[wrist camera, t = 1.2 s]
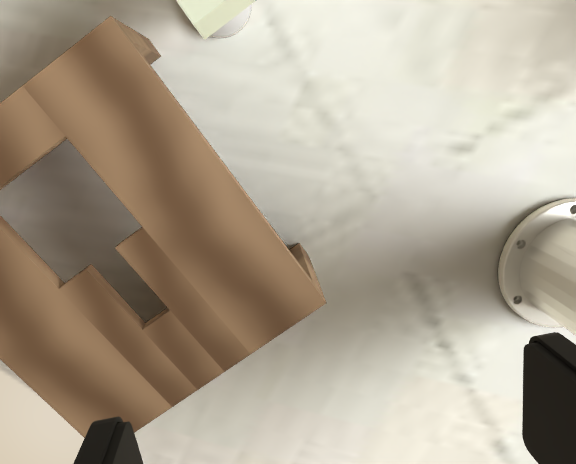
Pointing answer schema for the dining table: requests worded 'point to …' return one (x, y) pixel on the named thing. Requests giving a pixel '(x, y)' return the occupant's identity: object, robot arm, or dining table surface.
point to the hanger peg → (217, 16)
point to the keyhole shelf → (138, 245)
